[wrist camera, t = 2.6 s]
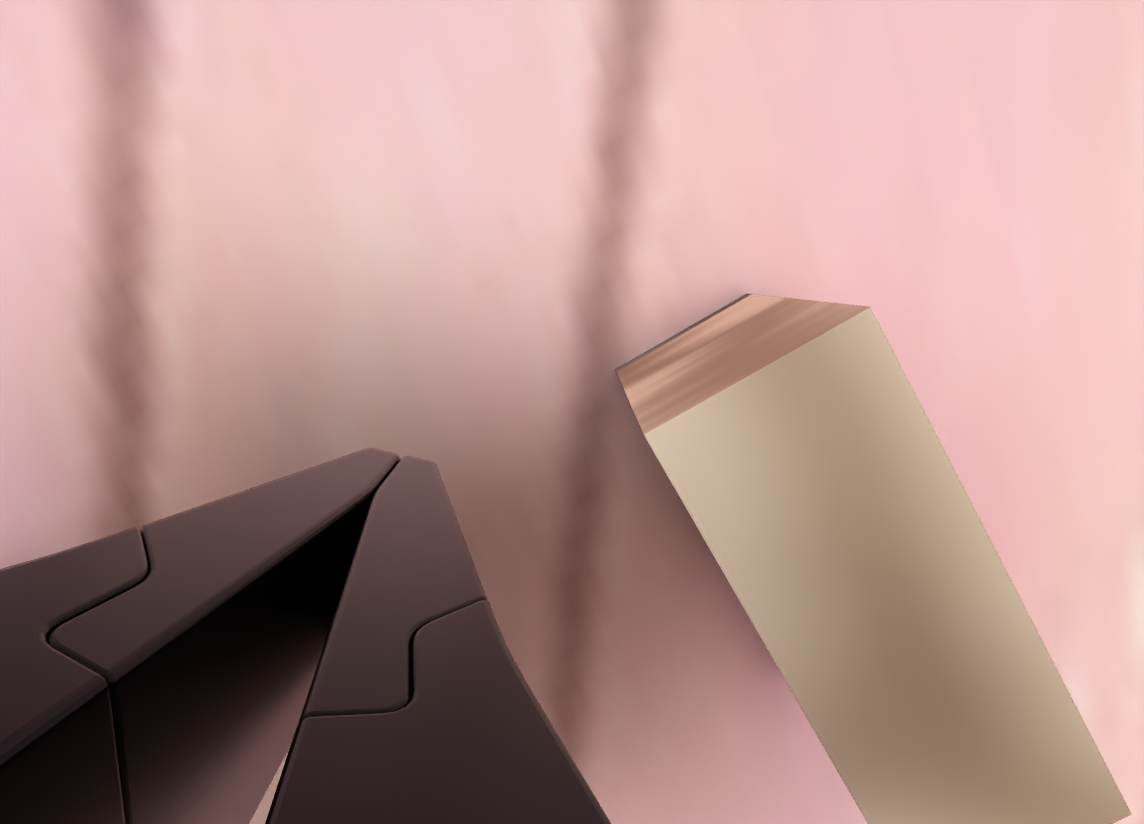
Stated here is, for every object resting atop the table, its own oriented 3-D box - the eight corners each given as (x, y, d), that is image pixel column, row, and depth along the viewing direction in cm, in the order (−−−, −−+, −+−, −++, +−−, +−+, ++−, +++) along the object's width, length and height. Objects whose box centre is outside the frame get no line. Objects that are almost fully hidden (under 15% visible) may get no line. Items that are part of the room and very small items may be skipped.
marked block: (787, 670, 23) (921, 916, 14) (615, 369, 22) (643, 434, 13) (914, 603, 23) (1131, 814, 14) (746, 293, 21) (870, 306, 12)
